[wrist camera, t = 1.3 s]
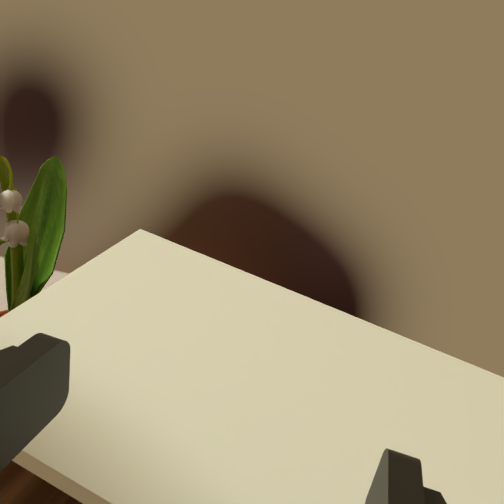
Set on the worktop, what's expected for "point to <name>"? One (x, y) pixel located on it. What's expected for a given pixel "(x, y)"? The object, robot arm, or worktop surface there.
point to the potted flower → (32, 230)
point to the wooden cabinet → (239, 393)
